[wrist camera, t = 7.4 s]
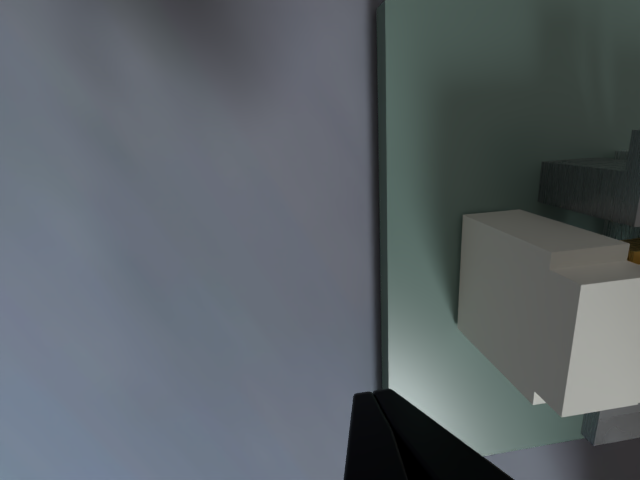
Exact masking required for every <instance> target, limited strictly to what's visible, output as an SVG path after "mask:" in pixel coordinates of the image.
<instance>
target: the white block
mask: <svg viewBox="0 0 640 480" xmlns="http://www.w3.org/2000/svg"><path fill="white" fill-rule="evenodd" d="M629 246H630V243H626V242H623V241H620V240H617V239H614V238H610V237H607V236H604V235H601V234H597V233H594V232H591V231H588V230H585V229H581V228H578V227H575V226H572V225H568V224H565V223H562V222H559V221H556V220H552V219H549V218H546V217H543V216H539V215H536V214H533V213H530V212H527V211H523V210H520V209H517V210H507V211H496V212H486V213H476V214H465V215H463V222H462V243H461V263H460V283H459V303H458V323H457V328H458V329H459V330H460V331H461V332H462V333H463V334H464V335H465V336H466V337H467V339H468V340H469V341H470V342H471V343H472V344H473V345H474V346H475V347H476V348H477V349H478V350H479V351H480V352H481V353H482V354H483V355H484V356H485V357H486V358H487V359H488V360H489V361H490V362H491V363H492V364H493V365H494V366H495V367H496V368H497V369H498V370H499V371H500V372H501V373H502V374H503V375H504V376H505V377H506V378H507V379H508V380H509V381H510V382H511V383H512V384H513V385H514V386H515V387H516V388H517V389H518V391H519V392H520V393H521V394H522V395H523V396H524V397H525V398H526V399H527V400H528V401H529V402H530V403H531V404H532V405H537V404H543V403H547V404H548V405H549V406H550V407H551V408H552V409H553V410H554V411H555V412H556V413H557V414H558V415H559V416H560V417H561V418H562V417H567V416H573V415H579V414H585V413H591V412H597V411H603V410H609V409H614V408H620V407H626V406H632V405H638V403H640V265H638V264H635V263H633V262H630V261H627V257H628V252H629Z"/></svg>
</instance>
